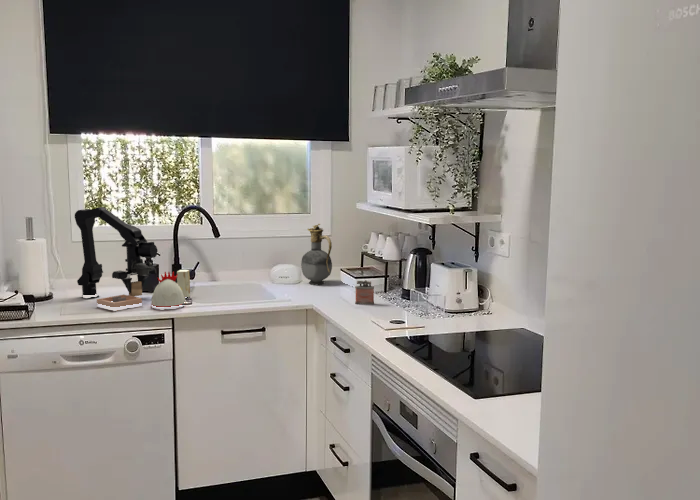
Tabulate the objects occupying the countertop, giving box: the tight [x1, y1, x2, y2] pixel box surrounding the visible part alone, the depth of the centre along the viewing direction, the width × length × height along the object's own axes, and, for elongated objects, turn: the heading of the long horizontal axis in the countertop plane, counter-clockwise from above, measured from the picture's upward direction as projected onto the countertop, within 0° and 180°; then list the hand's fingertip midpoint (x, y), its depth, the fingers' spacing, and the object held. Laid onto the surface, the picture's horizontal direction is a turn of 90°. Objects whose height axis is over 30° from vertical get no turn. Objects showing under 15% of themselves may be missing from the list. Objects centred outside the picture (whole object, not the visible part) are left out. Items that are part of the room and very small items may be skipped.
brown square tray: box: [96, 293, 143, 307], centre depth 280 cm, size 13×13×4 cm
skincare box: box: [176, 269, 191, 298], centre depth 299 cm, size 6×4×12 cm
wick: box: [128, 280, 143, 297], centre depth 293 cm, size 2×5×6 cm, turn 141°
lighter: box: [354, 279, 375, 306], centre depth 283 cm, size 8×3×10 cm, turn 84°
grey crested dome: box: [150, 271, 186, 307], centre depth 280 cm, size 14×14×15 cm
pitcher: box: [300, 223, 333, 286], centre depth 328 cm, size 11×19×30 cm, turn 42°
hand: (135, 292), depth 293 cm, fingers closed on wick, 5 cm apart
